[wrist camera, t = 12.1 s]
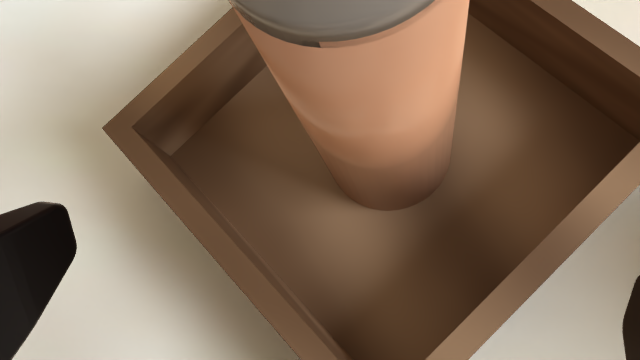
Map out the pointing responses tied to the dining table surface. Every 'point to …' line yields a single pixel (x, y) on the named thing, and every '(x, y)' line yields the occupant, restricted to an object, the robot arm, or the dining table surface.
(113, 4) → the dining table surface
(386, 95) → the canister
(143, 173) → the tray
